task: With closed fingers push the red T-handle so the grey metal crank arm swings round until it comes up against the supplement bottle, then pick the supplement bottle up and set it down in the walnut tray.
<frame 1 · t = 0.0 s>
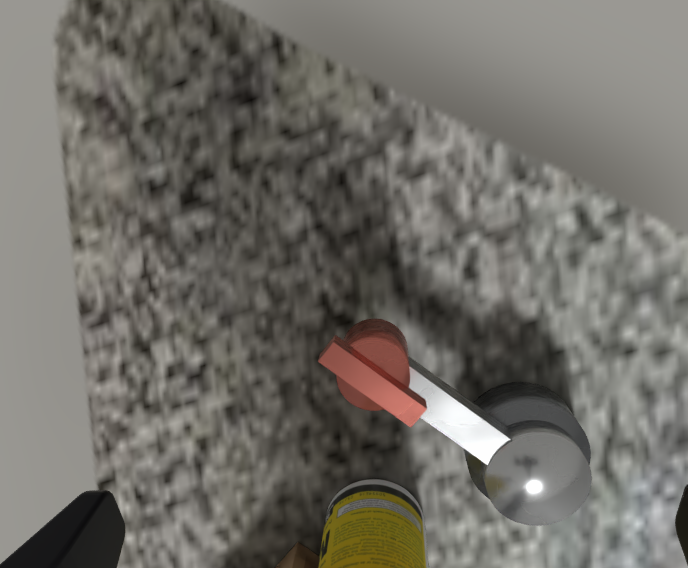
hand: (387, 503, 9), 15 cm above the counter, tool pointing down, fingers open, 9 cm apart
supplement bottle: (375, 516, 27), on the counter
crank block: (517, 433, 25), on the counter
crank: (458, 426, 21), point 4 cm above the counter, hinge at 0.0°
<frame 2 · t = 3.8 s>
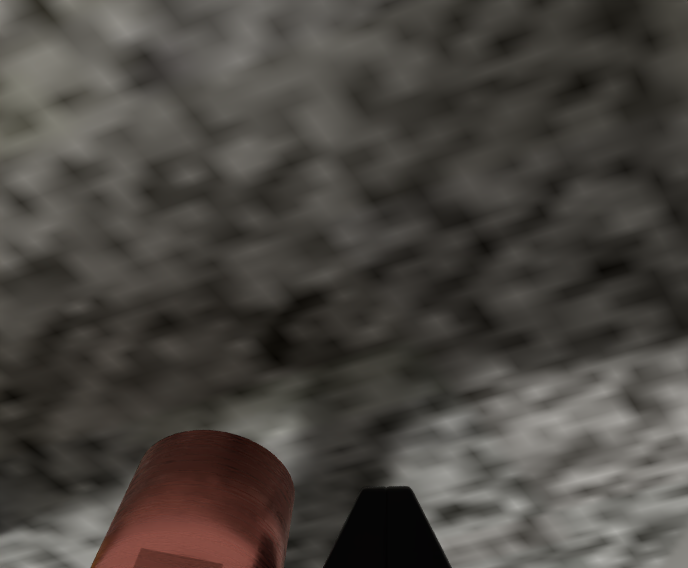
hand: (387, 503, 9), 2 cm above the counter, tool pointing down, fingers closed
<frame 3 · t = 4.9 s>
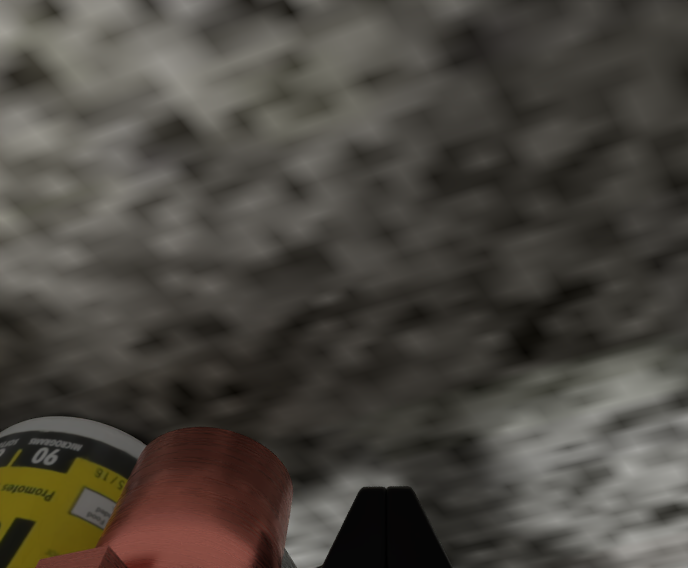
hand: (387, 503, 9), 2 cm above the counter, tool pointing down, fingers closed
supplement bottle: (92, 480, 13), on the counter
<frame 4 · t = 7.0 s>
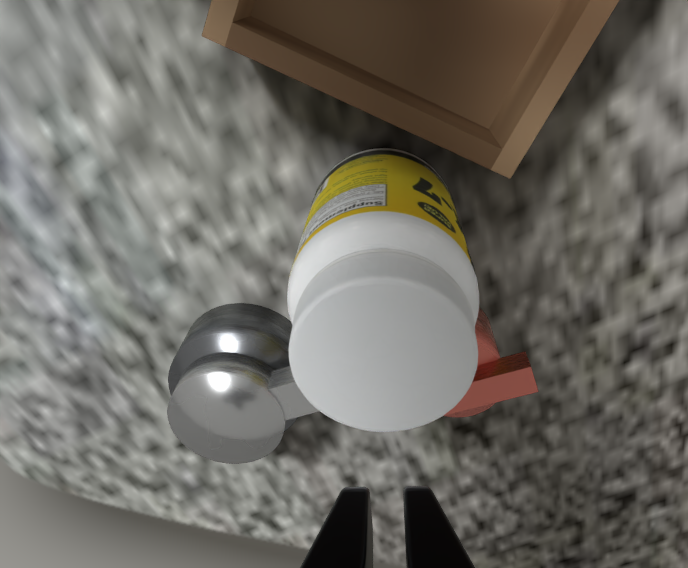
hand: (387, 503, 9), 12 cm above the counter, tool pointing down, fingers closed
supplement bottle: (382, 211, 19), on the counter
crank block: (247, 357, 22), on the counter
crank: (334, 395, 18), point 4 cm above the counter, hinge at 45.2°
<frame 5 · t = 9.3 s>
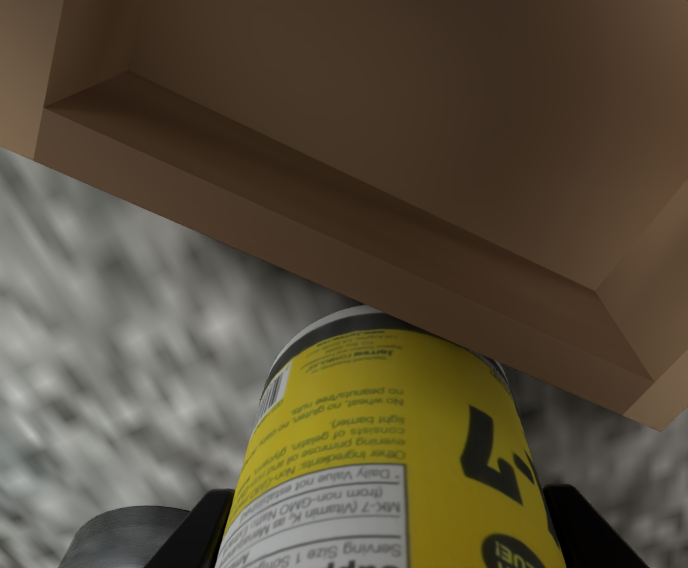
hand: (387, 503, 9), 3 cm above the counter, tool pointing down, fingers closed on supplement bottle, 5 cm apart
supplement bottle: (385, 390, 11), on the counter, touching gripper
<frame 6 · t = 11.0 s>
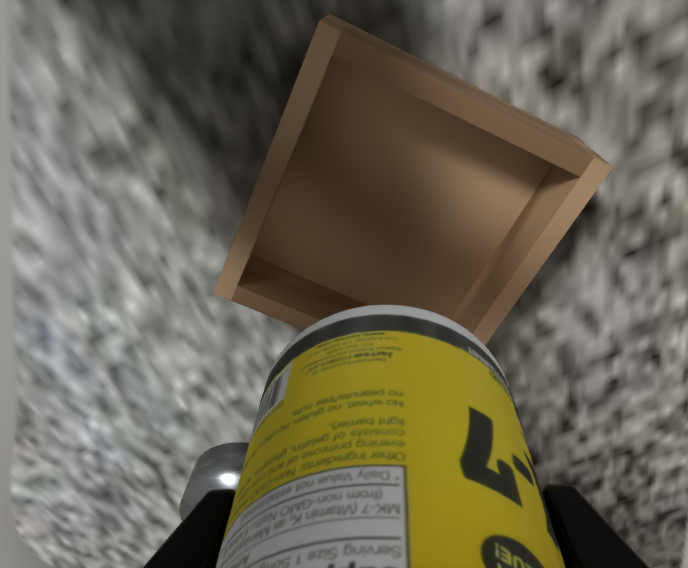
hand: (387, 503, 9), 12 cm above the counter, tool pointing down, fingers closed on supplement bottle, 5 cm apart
supplement bottle: (385, 391, 11), point 9 cm above the counter, touching gripper
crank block: (245, 482, 26), on the counter
crank: (315, 537, 22), point 4 cm above the counter, hinge at 45.2°
tray: (395, 199, 19), on the counter
when the fingers open (4 cm above the counter, at t = 12.9 s): supplement bottle stays where it is, resting on tray.
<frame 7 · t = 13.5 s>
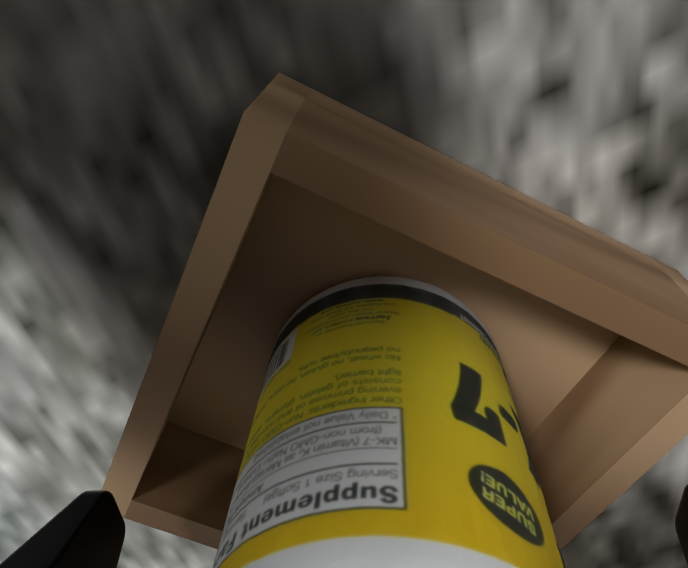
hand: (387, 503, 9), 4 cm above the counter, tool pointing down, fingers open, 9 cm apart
supplement bottle: (383, 360, 12), point 1 cm above the counter, touching tray
tray: (385, 345, 13), on the counter
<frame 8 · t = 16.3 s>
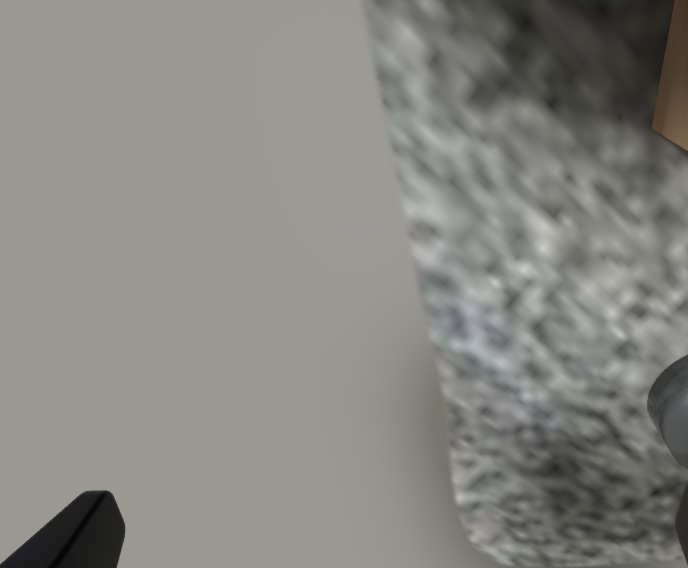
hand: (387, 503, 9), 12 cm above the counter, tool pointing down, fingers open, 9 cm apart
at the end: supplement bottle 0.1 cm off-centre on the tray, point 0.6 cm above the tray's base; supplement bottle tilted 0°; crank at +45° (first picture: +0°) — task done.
